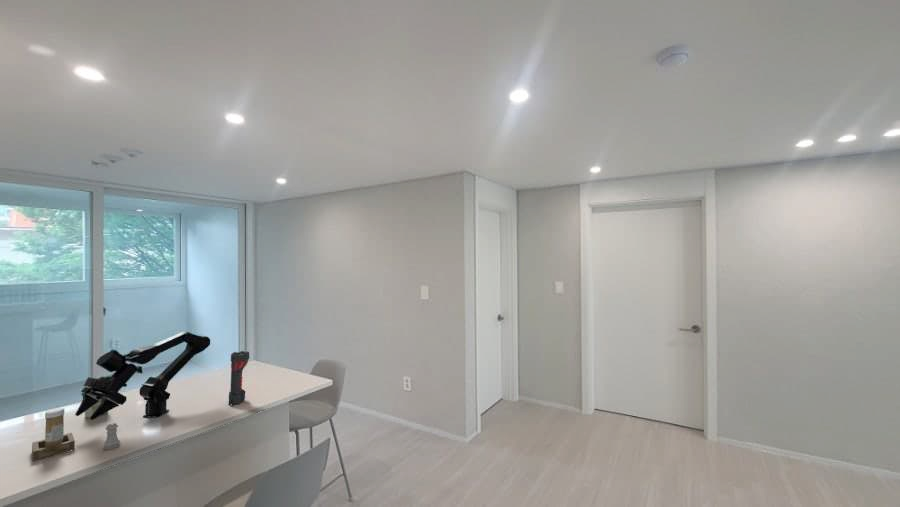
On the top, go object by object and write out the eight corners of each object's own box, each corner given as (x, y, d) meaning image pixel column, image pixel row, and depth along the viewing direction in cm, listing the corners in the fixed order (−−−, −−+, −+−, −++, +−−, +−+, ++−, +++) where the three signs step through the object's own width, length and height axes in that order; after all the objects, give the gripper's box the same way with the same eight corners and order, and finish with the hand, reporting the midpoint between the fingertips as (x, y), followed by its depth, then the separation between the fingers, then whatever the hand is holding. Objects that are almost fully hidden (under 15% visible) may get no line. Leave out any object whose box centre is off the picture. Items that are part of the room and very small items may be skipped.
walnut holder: (71, 441, 133) (71, 432, 133) (74, 450, 127) (74, 440, 127) (32, 451, 126) (32, 442, 126) (33, 461, 120) (33, 451, 120)
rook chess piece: (110, 444, 131) (110, 422, 131) (123, 444, 131) (123, 421, 132) (99, 451, 127) (99, 427, 127) (113, 450, 127) (113, 427, 127)
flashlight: (250, 397, 175) (250, 349, 176) (246, 403, 168) (247, 353, 168) (231, 399, 173) (232, 351, 173) (227, 406, 166) (228, 355, 166)
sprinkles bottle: (42, 450, 126) (43, 411, 126) (60, 444, 130) (61, 406, 130) (47, 453, 124) (47, 413, 124) (66, 447, 128) (66, 408, 128)
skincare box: (92, 418, 153) (92, 388, 153) (84, 417, 154) (84, 388, 154) (109, 412, 159) (109, 383, 159) (101, 411, 160) (101, 383, 160)
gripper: (87, 365, 143) (48, 404, 132) (117, 370, 136) (78, 411, 126) (112, 379, 150) (76, 417, 140) (141, 384, 143) (106, 425, 133)
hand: (83, 417), depth 134 cm, fingers open, 9 cm apart
